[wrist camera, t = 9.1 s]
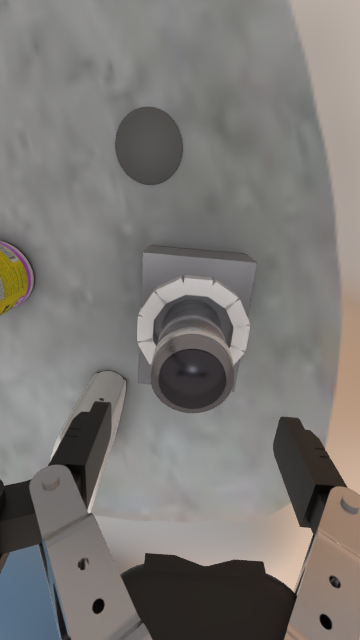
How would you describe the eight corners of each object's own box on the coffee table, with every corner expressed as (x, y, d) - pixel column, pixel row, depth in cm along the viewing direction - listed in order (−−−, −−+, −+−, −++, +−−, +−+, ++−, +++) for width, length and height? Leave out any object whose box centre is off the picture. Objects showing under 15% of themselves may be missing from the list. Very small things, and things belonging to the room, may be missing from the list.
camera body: (145, 357, 31) (135, 390, 26) (150, 245, 27) (139, 254, 21) (227, 364, 31) (236, 399, 26) (245, 254, 27) (261, 265, 21)
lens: (159, 351, 25) (146, 413, 18) (162, 295, 24) (150, 336, 16) (217, 357, 25) (229, 420, 18) (225, 301, 24) (243, 345, 16)
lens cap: (117, 181, 26) (115, 181, 25) (117, 107, 24) (115, 103, 23) (179, 187, 26) (179, 187, 25) (185, 113, 24) (185, 110, 23)
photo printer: (93, 365, 32) (39, 452, 20) (131, 374, 32) (99, 465, 21) (81, 435, 36) (29, 542, 24) (115, 442, 36) (80, 553, 24)
